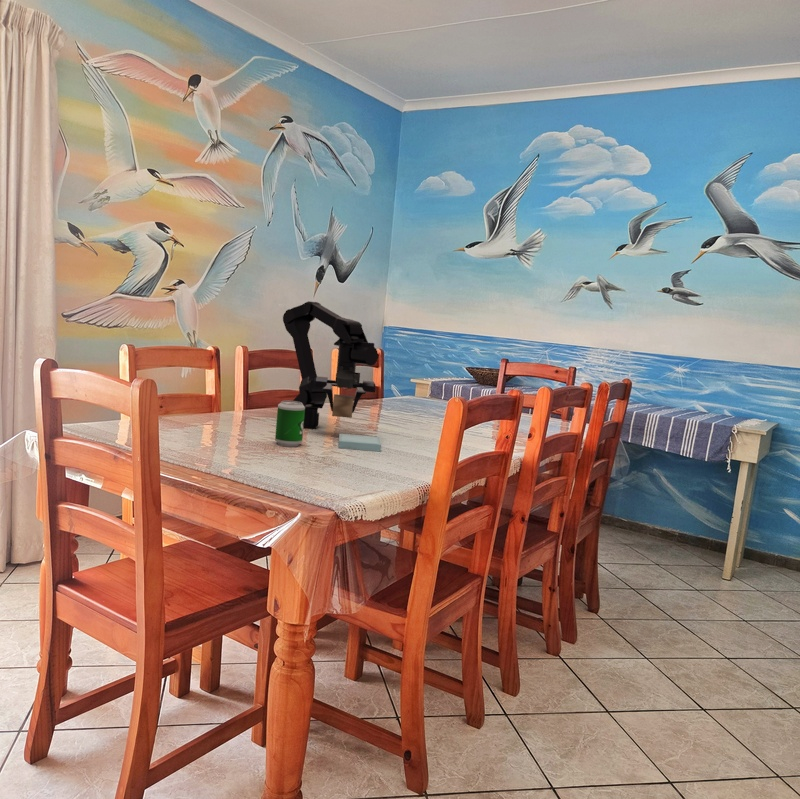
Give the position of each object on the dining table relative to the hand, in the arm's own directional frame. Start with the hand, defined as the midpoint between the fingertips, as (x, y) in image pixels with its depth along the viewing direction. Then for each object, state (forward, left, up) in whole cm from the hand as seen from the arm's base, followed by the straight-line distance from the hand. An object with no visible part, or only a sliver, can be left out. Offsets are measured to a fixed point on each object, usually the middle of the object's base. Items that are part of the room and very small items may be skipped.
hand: (342, 412), depth 214 cm
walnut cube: (0, 0, -1) cm, 1 cm away
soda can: (-14, -20, -8) cm, 26 cm away
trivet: (+6, -13, -8) cm, 16 cm away
